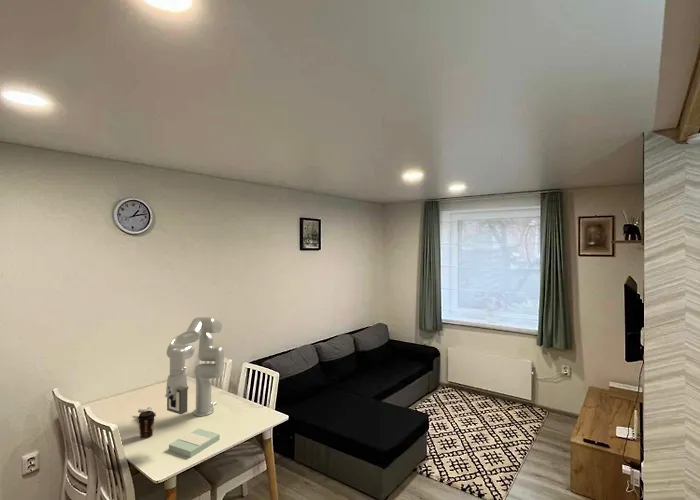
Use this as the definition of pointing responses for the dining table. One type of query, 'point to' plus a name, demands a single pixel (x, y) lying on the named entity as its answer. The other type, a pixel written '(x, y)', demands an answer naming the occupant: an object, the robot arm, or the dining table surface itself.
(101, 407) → the dining table surface
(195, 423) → the dining table surface
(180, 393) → the picture frame
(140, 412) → the bunny figurine
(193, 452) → the sage stand
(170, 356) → the robot arm
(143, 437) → the coffee cup
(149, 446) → the dining table surface
